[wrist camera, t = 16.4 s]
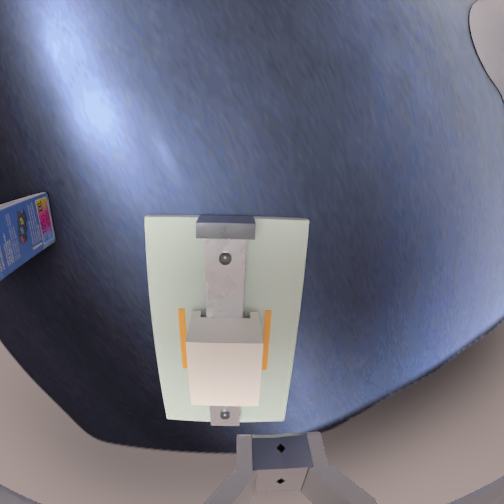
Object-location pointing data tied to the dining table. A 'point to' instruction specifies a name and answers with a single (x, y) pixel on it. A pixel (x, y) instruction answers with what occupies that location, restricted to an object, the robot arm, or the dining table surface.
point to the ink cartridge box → (24, 231)
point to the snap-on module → (224, 360)
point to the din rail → (225, 280)
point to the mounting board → (255, 300)
